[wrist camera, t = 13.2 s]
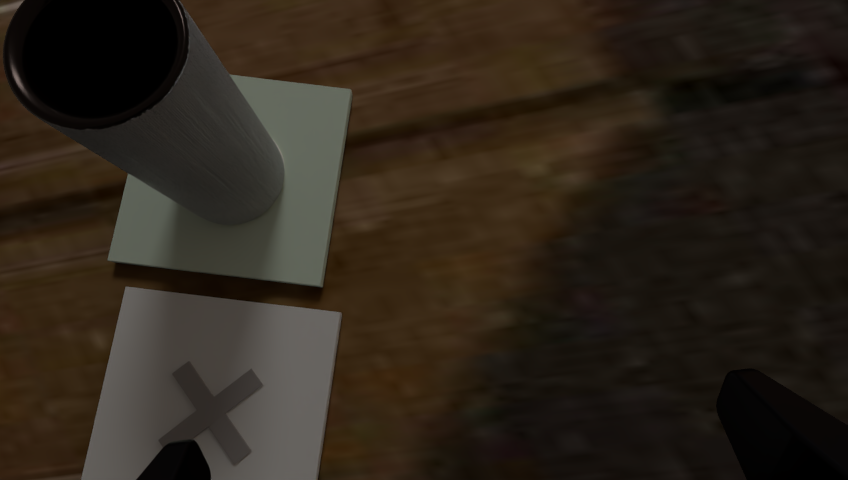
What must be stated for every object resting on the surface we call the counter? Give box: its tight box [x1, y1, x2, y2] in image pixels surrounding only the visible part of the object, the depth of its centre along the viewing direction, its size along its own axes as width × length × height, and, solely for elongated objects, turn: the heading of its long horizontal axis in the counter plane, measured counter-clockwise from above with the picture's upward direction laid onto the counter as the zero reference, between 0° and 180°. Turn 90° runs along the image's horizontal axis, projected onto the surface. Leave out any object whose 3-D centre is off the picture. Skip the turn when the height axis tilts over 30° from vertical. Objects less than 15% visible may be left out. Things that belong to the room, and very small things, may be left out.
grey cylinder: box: [3, 0, 285, 225], centre depth 18 cm, size 4×4×10 cm
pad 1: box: [108, 75, 353, 287], centre depth 23 cm, size 9×9×1 cm
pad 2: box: [81, 287, 342, 480], centre depth 21 cm, size 9×9×1 cm
